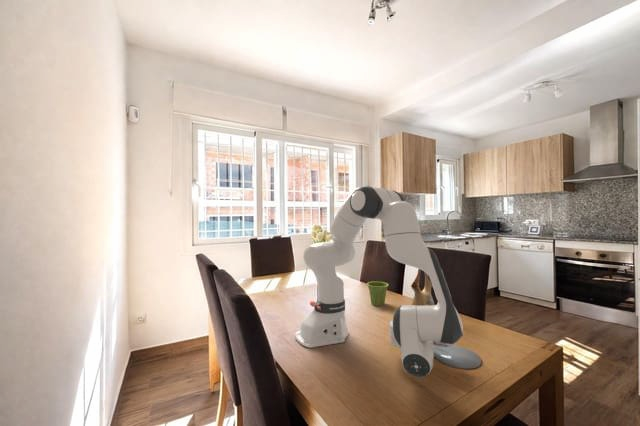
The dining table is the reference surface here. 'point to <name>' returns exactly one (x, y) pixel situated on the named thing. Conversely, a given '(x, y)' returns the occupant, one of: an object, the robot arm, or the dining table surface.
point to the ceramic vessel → (422, 292)
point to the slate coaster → (457, 357)
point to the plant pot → (377, 292)
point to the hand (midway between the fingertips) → (420, 323)
